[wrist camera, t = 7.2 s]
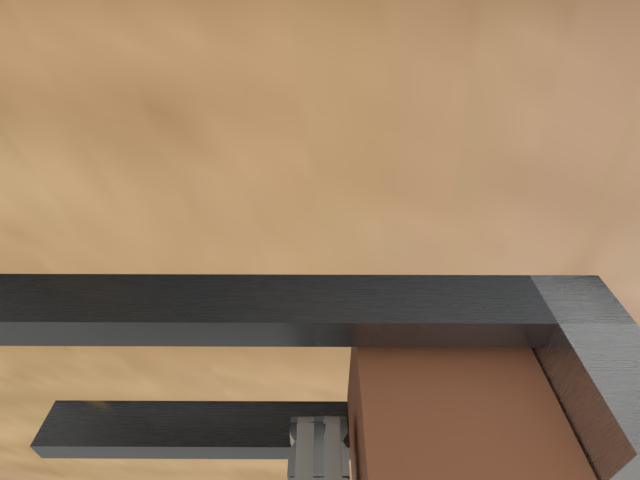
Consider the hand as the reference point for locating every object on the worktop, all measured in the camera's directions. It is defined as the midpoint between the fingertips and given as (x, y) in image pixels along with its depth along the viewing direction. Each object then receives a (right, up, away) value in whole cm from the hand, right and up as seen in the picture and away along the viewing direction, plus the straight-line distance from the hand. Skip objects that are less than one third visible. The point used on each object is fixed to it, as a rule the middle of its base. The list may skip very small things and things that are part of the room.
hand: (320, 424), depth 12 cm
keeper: (+4, +2, +2) cm, 4 cm away
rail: (-1, +2, +2) cm, 3 cm away
